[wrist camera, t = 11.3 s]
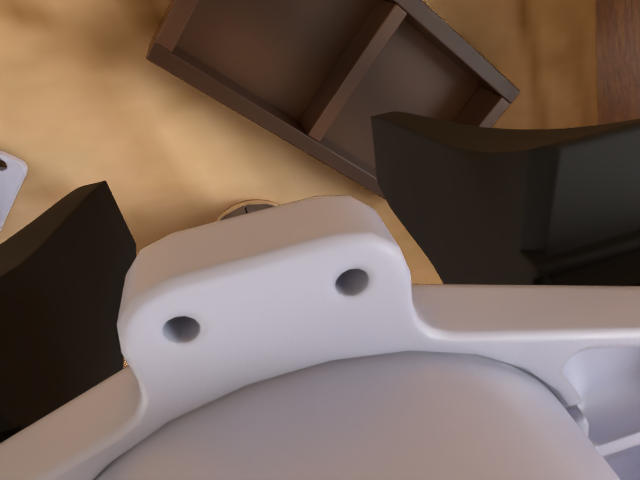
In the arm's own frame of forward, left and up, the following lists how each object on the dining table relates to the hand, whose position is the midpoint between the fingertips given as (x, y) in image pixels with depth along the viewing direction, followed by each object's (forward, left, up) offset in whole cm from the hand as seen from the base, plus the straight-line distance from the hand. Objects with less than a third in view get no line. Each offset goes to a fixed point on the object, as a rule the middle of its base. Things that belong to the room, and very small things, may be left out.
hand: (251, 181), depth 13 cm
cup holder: (+4, +4, -10) cm, 12 cm away
